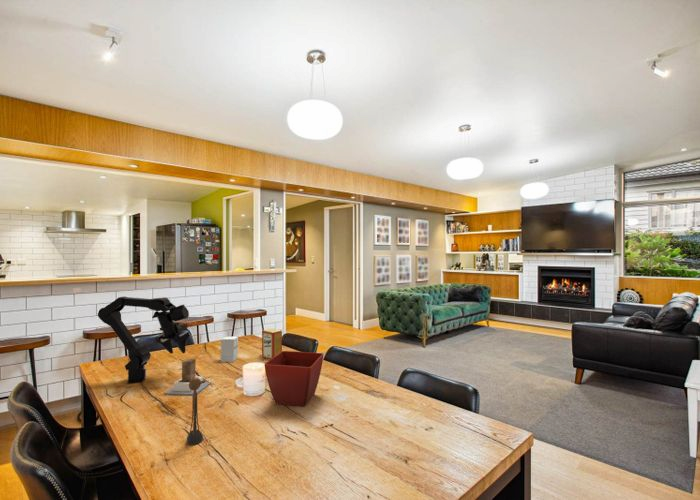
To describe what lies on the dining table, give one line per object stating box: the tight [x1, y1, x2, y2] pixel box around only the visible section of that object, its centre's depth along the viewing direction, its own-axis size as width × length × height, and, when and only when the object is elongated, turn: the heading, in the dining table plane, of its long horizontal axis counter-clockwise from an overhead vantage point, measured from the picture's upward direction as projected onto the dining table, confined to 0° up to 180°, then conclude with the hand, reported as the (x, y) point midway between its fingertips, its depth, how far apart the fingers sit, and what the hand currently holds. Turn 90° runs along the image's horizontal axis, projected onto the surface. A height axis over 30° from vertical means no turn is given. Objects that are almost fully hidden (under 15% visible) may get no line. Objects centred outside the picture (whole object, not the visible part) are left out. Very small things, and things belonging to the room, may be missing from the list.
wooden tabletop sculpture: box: [185, 378, 207, 446], centre depth 111 cm, size 6×5×20 cm
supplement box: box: [220, 336, 239, 363], centre depth 196 cm, size 7×7×13 cm
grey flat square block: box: [163, 375, 212, 396], centre depth 154 cm, size 14×14×4 cm
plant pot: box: [264, 350, 324, 407], centre depth 142 cm, size 19×19×17 cm
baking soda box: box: [261, 328, 283, 361], centre depth 200 cm, size 10×6×16 cm
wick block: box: [181, 358, 196, 382], centre depth 154 cm, size 4×4×12 cm
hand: (178, 353), depth 168 cm, fingers open, 9 cm apart
